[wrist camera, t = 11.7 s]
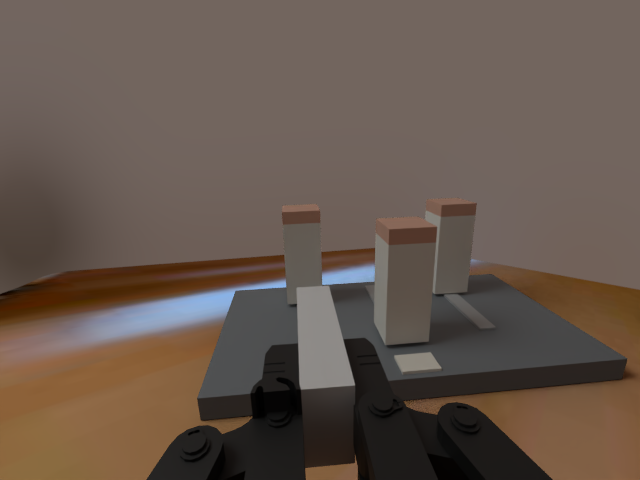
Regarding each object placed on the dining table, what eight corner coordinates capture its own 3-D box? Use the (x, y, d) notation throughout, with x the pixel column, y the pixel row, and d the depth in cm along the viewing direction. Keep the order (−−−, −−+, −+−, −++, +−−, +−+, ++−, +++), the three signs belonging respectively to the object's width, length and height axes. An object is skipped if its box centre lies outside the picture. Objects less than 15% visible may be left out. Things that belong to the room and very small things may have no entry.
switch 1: (412, 319, 25) (418, 216, 23) (428, 341, 22) (437, 226, 20) (373, 322, 25) (376, 218, 22) (385, 345, 22) (389, 229, 19)
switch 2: (450, 278, 32) (458, 197, 30) (467, 291, 29) (476, 203, 27) (421, 280, 32) (426, 199, 29) (434, 294, 29) (441, 204, 27)
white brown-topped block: (319, 287, 31) (316, 203, 29) (322, 302, 28) (320, 210, 26) (287, 289, 31) (282, 205, 28) (287, 304, 28) (281, 212, 25)
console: (489, 287, 34) (491, 272, 34) (621, 379, 21) (628, 355, 20) (237, 304, 32) (235, 288, 31) (200, 420, 18) (196, 395, 18)
